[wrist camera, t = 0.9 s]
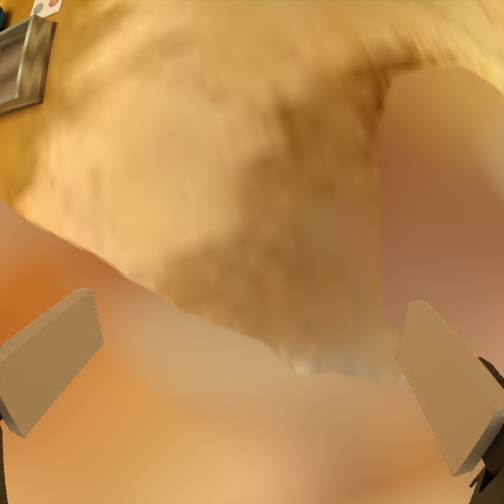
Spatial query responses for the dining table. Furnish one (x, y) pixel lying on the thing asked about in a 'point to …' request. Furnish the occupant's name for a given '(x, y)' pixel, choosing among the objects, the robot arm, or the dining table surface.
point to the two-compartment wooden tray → (24, 63)
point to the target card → (46, 7)
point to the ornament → (1, 17)
